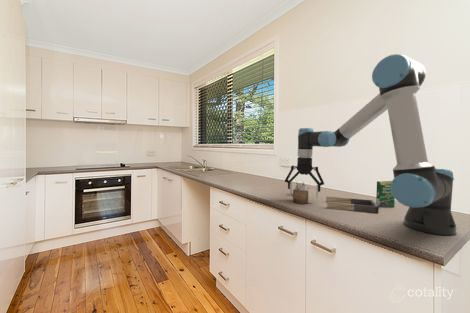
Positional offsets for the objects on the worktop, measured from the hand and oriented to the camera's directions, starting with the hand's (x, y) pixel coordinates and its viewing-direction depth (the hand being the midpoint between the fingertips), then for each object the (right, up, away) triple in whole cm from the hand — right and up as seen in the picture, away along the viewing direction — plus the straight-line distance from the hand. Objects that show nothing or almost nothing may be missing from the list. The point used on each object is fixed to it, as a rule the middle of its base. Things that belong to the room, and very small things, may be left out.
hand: (303, 196), depth 120 cm
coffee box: (+40, -4, -6) cm, 41 cm away
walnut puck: (-1, -3, +1) cm, 4 cm away
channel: (+21, -4, -8) cm, 23 cm away
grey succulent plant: (+3, -3, +16) cm, 16 cm away
